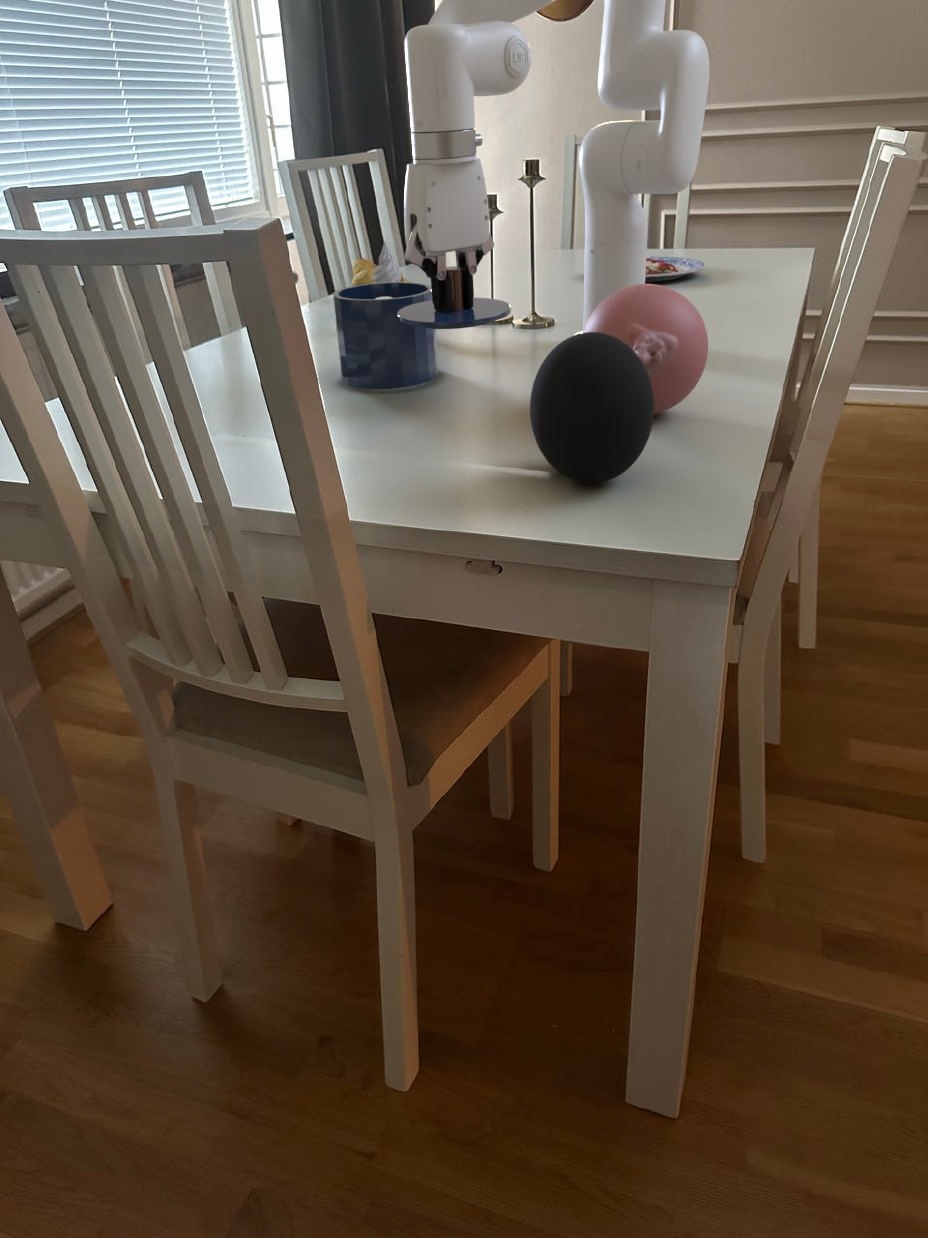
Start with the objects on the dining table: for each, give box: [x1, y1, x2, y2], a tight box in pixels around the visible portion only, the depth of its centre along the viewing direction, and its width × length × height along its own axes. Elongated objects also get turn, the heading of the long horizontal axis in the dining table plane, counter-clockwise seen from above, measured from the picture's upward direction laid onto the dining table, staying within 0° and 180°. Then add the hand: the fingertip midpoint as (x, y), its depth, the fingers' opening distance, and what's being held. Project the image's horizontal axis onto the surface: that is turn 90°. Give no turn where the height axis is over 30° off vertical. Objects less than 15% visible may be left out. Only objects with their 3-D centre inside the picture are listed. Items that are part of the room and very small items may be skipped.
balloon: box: [582, 283, 709, 415], centre depth 111 cm, size 15×20×15 cm
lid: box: [397, 265, 512, 330], centre depth 118 cm, size 15×15×6 cm
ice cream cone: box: [373, 240, 402, 283], centre depth 162 cm, size 5×5×15 cm
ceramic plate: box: [645, 255, 706, 283], centre depth 203 cm, size 26×26×3 cm
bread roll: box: [350, 257, 410, 287], centre depth 190 cm, size 13×10×8 cm
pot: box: [332, 281, 439, 390], centre depth 133 cm, size 14×14×12 cm
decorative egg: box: [529, 332, 655, 484], centre depth 93 cm, size 12×12×15 cm
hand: (453, 307), depth 118 cm, fingers closed on lid, 2 cm apart
